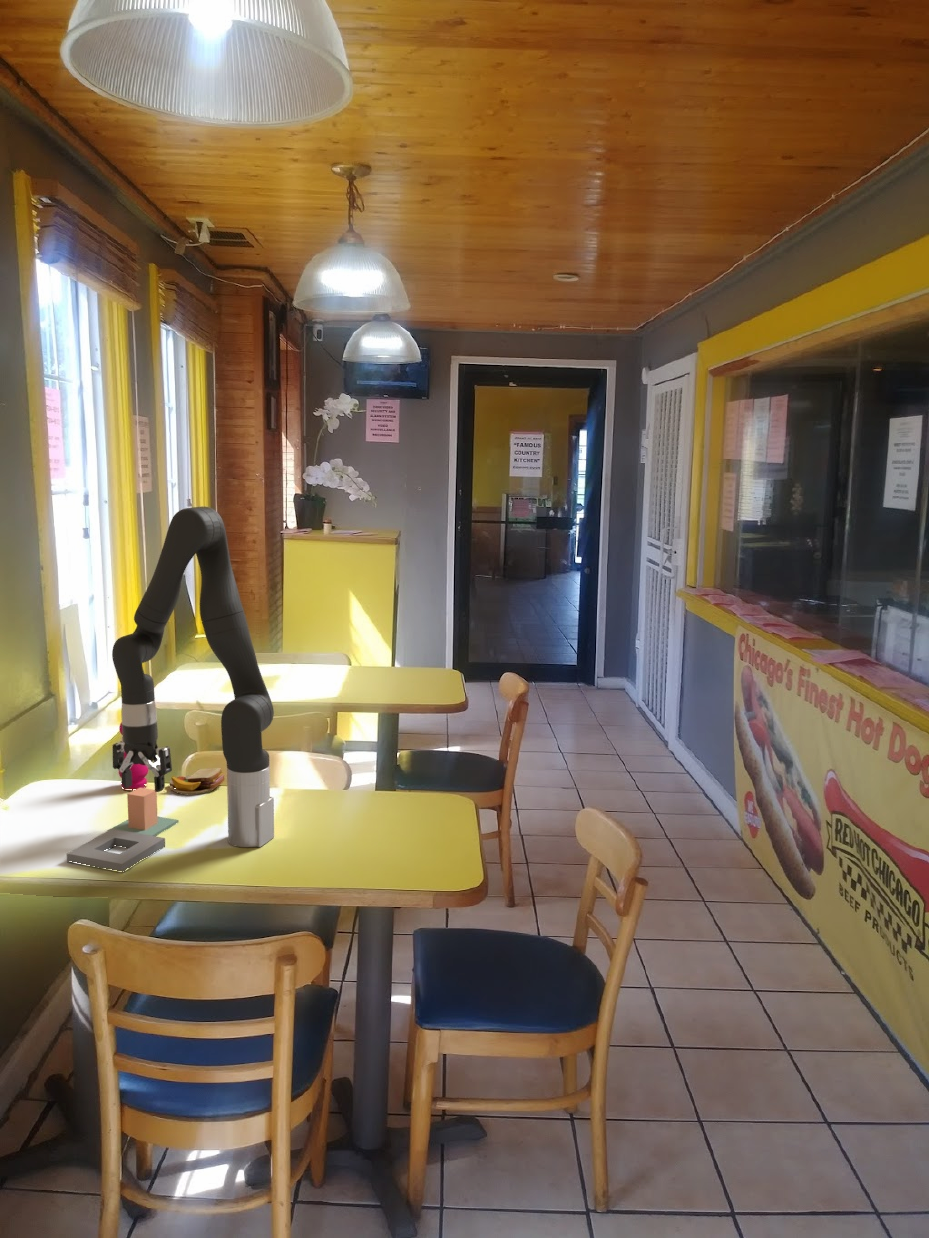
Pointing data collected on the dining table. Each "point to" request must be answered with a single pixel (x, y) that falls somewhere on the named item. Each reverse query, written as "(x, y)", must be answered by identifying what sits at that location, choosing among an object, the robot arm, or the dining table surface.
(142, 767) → the pepper mill
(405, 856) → the dining table surface
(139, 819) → the terracotta block
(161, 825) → the rubber pad
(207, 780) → the toy sandwich meal
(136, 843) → the pocket plate
